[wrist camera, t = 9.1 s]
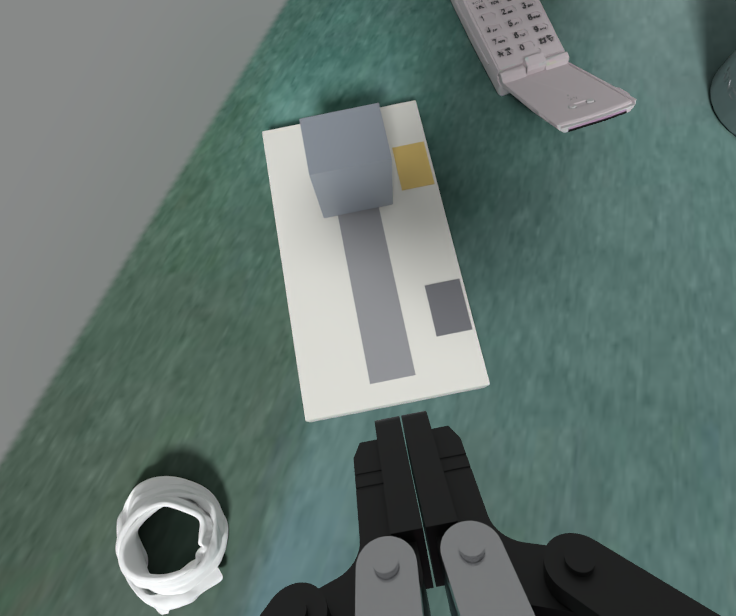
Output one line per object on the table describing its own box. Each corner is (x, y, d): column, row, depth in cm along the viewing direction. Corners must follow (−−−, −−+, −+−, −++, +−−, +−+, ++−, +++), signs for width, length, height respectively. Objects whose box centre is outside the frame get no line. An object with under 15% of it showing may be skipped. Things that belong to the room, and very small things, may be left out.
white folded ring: (120, 506, 32) (64, 517, 28) (200, 450, 32) (157, 451, 28) (167, 621, 30) (114, 654, 25) (254, 559, 30) (217, 581, 25)
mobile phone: (557, 133, 30) (422, -125, 37) (531, 181, 36) (418, -50, 42) (644, 105, 30) (494, -147, 37) (603, 157, 36) (480, -69, 43)
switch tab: (381, 156, 34) (378, 102, 29) (392, 204, 33) (391, 158, 28) (315, 169, 34) (299, 119, 29) (323, 218, 33) (309, 175, 28)
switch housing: (414, 117, 38) (415, 99, 36) (484, 387, 32) (490, 384, 30) (269, 147, 38) (262, 131, 36) (311, 422, 32) (305, 421, 30)
